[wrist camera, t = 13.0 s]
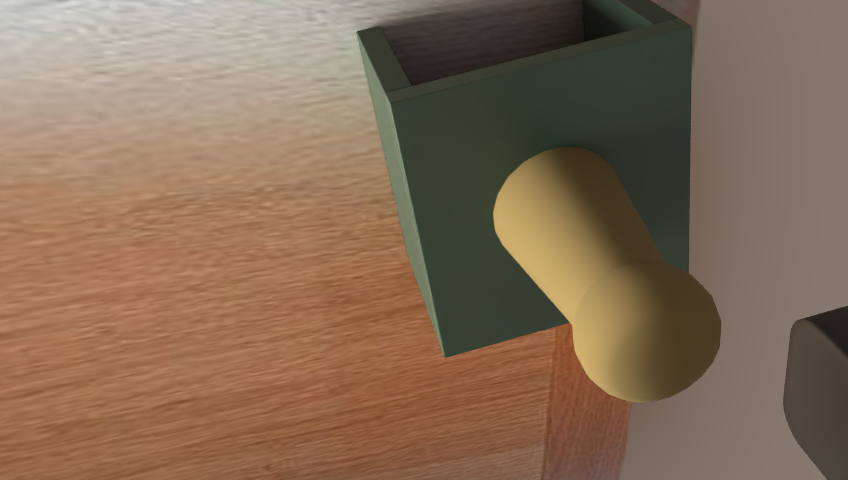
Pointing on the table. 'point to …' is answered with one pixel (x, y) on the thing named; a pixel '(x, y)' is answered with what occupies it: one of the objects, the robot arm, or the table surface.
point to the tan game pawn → (607, 276)
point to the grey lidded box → (523, 139)
